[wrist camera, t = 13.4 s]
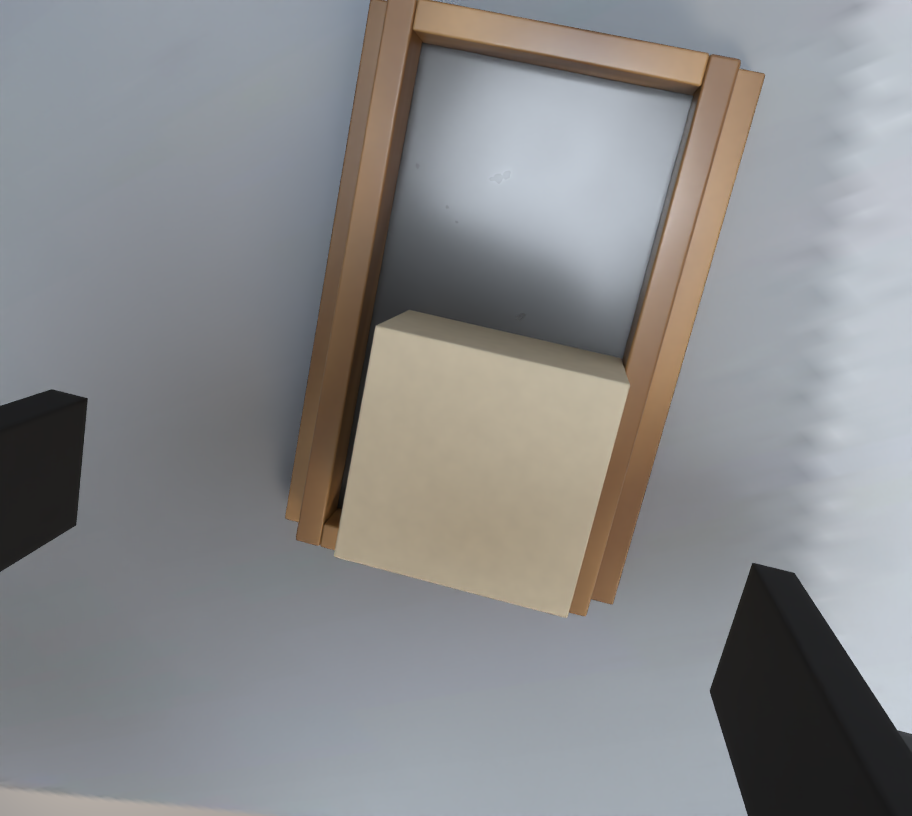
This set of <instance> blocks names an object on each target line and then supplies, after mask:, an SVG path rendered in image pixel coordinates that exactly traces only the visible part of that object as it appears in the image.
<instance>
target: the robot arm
mask: <svg viewBox="0 0 912 816" xmlns="http://www.w3.org/2000/svg"><path fill="white" fill-rule="evenodd" d="M87 400H88V398H84V397H80V396H76V395H72V394H68V393H64V392H60V391H56V390H52V389H51V390H48V391H45V392H42V393H39V394H36V395H33V396H30V397H27V398H23V399H20V400H17V401H14V402H11V403H8V404H5V405H2V406H0V572H1V571H2V570H4V569H6V568H7V567H9V566H11V565H12V564H14V563H15V562H17V561H19V560H20V559H22V558H24V557H25V556H27V555H28V554H30V553H32V552H33V551H35V550H37V549H38V548H40V547H41V546H43V545H45V544H46V543H48V542H50V541H51V540H53V539H54V538H56V537H58V536H59V535H61V534H63V533H64V532H66V531H67V530H69V529H71V528H72V527H74V526H76V522H77V511H78V500H79V488H80V477H81V466H82V455H83V444H84V433H85V422H86V411H87ZM710 694H711V697H712V700H713V703H714V707H715V710H716V713H717V716H718V720H719V723H720V726H721V729H722V733H723V736H724V739H725V742H726V746H727V749H728V752H729V755H730V759H731V762H732V765H733V769H734V772H735V775H736V778H737V782H738V785H739V788H740V791H741V795H742V798H743V801H744V804H745V808H746V811H747V814H748V816H912V734H909V733H905V732H902V731H898V730H897V729H896V728H895V726H894V725H893V723H892V722H891V720H890V719H889V717H888V715H887V714H886V712H885V711H884V709H883V708H882V706H881V705H880V703H879V702H878V700H877V699H876V697H875V696H874V694H873V692H872V691H871V689H870V688H869V686H868V685H867V683H866V682H865V680H864V679H863V677H862V676H861V674H860V673H859V671H858V670H857V668H856V666H855V665H854V663H853V662H852V660H851V659H850V657H849V656H848V654H847V653H846V651H845V650H844V648H843V647H842V645H841V644H840V642H839V640H838V639H837V637H836V636H835V634H834V633H833V631H832V630H831V628H830V627H829V625H828V624H827V622H826V621H825V619H824V617H823V616H822V614H821V613H820V611H819V610H818V608H817V607H816V605H815V604H814V602H813V601H812V599H811V598H810V596H809V595H808V593H807V591H806V590H805V588H804V587H803V585H802V584H801V582H800V581H799V579H798V578H797V576H796V575H795V573H792V572H788V571H784V570H780V569H776V568H772V567H768V566H764V565H760V564H756V563H752V566H751V569H750V572H749V575H748V578H747V581H746V584H745V587H744V590H743V593H742V596H741V599H740V602H739V605H738V608H737V611H736V614H735V617H734V620H733V623H732V626H731V629H730V632H729V635H728V638H727V641H726V644H725V647H724V650H723V653H722V656H721V659H720V662H719V665H718V668H717V671H716V674H715V677H714V680H713V683H712V686H711V689H710Z"/></svg>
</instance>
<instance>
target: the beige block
mask: <svg viewBox="0 0 912 816" xmlns="http://www.w3.org/2000/svg"><path fill="white" fill-rule="evenodd" d="M629 388H630V384H629V381H628V378H627V375H626V372H625V369H624V366H623V363H622V360H621V358H618V357H613V356H609V355H604V354H600V353H596V352H591V351H587V350H583V349H578V348H574V347H569V346H565V345H561V344H556V343H552V342H548V341H543V340H539V339H535V338H530V337H526V336H521V335H517V334H513V333H508V332H504V331H500V330H495V329H491V328H486V327H482V326H478V325H473V324H469V323H465V322H460V321H456V320H451V319H447V318H443V317H438V316H434V315H430V314H425V313H421V312H416V311H412V310H408V311H406V312H404V313H402V314H399V315H397V316H395V317H393V318H391V319H389V320H387V321H385V322H383V323H381V324H379V325H376V327H375V331H374V337H373V342H372V348H371V353H370V359H369V364H368V370H367V375H366V381H365V387H364V392H363V398H362V403H361V409H360V414H359V420H358V425H357V431H356V436H355V442H354V447H353V453H352V458H351V464H350V469H349V475H348V480H347V486H346V491H345V497H344V502H343V508H342V513H341V519H340V524H339V530H338V535H337V541H336V546H335V552H334V557H337V558H340V559H344V560H348V561H352V562H356V563H359V564H363V565H367V566H371V567H374V568H378V569H382V570H386V571H390V572H393V573H397V574H401V575H405V576H409V577H412V578H416V579H420V580H424V581H428V582H431V583H435V584H439V585H443V586H447V587H450V588H454V589H458V590H462V591H466V592H469V593H473V594H477V595H481V596H484V597H488V598H492V599H496V600H500V601H503V602H507V603H511V604H515V605H519V606H522V607H526V608H530V609H534V610H538V611H541V612H545V613H549V614H553V615H557V616H560V617H564V618H567V617H568V614H569V610H570V606H571V602H572V599H573V595H574V591H575V588H576V584H577V580H578V577H579V573H580V569H581V565H582V562H583V558H584V554H585V551H586V547H587V543H588V539H589V536H590V532H591V528H592V525H593V521H594V517H595V514H596V510H597V506H598V502H599V499H600V495H601V491H602V488H603V484H604V480H605V476H606V473H607V469H608V465H609V462H610V458H611V454H612V451H613V447H614V443H615V439H616V436H617V432H618V428H619V425H620V421H621V417H622V413H623V410H624V406H625V402H626V399H627V395H628V391H629Z"/></svg>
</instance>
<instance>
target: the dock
mask: <svg viewBox="0 0 912 816" xmlns="http://www.w3.org/2000/svg"><path fill="white" fill-rule="evenodd" d="M740 65H741V60H739V59H736V58H730V57H725V56H720V55H715V54H712V55H710V56H709V54H708V53H705V52H700V51H694V50H689V49H684V48H679V47H674V46H668V45H663V44H658V43H653V42H647V41H642V40H637V39H632V38H626V37H621V36H616V35H611V34H605V33H600V32H595V31H590V30H584V29H579V28H574V27H569V26H564V25H558V24H553V23H548V22H543V21H537V20H532V19H527V18H522V17H516V16H511V15H506V14H501V13H495V12H490V11H485V10H480V9H474V8H469V7H464V6H459V5H453V4H448V3H443V2H438V1H433V0H387V1H384V0H370V5H369V12H368V18H367V24H366V30H365V36H364V42H363V48H362V54H361V60H360V66H359V72H358V78H357V84H356V90H355V96H354V102H353V109H352V115H351V121H350V127H349V133H348V139H347V145H346V151H345V157H344V163H343V169H342V175H341V181H340V187H339V193H338V199H337V206H336V212H335V218H334V224H333V230H332V236H331V242H330V248H329V254H328V260H327V266H326V272H325V278H324V284H323V290H322V296H321V302H320V309H319V315H318V321H317V327H316V333H315V339H314V345H313V351H312V357H311V363H310V369H309V375H308V381H307V387H306V393H305V399H304V406H303V412H302V418H301V424H300V430H299V436H298V442H297V448H296V454H295V460H294V466H293V472H292V478H291V484H290V490H289V496H288V503H287V509H286V515H285V518H286V519H288V520H292V521H296V522H298V528H297V534H296V540H298V541H302V542H305V543H309V544H313V545H317V546H319V545H321V547H324V548H328V549H332V550H335V546H336V541H337V535H338V530H339V524H340V519H341V513H342V508H343V502H344V497H345V491H346V486H347V480H348V475H349V469H350V464H351V458H352V453H353V447H354V442H355V436H356V431H357V425H358V420H359V414H360V409H361V403H362V398H363V392H364V387H365V381H366V375H367V370H368V364H369V359H370V353H371V348H372V342H373V337H374V331H375V327H376V325H379V324H381V323H383V322H385V321H387V320H389V319H391V318H393V317H395V316H397V315H399V314H402V313H404V312H406V311H408V310H412V311H416V312H421V313H425V314H430V315H434V316H438V317H443V318H447V319H451V320H456V321H460V322H465V323H469V324H473V325H478V326H482V327H486V328H491V329H495V330H500V331H504V332H508V333H513V334H517V335H521V336H526V337H530V338H535V339H539V340H543V341H548V342H552V343H556V344H561V345H565V346H569V347H574V348H578V349H583V350H587V351H591V352H596V353H600V354H604V355H609V356H613V357H618V358H621V360H622V363H623V366H624V369H625V372H626V375H627V378H628V381H629V384H630V388H629V391H628V395H627V399H626V402H625V406H624V410H623V413H622V417H621V421H620V425H619V428H618V432H617V436H616V439H615V443H614V447H613V451H612V454H611V458H610V462H609V465H608V469H607V473H606V476H605V480H604V484H603V488H602V491H601V495H600V499H599V502H598V506H597V510H596V514H595V517H594V521H593V525H592V528H591V532H590V536H589V539H588V543H587V547H586V551H585V554H584V558H583V562H582V565H581V569H580V573H579V577H578V580H577V584H576V588H575V591H574V595H573V599H572V602H571V606H570V610H569V612H570V613H573V614H577V615H581V616H586V615H587V612H588V608H589V604H590V601H591V599H593V600H596V601H600V602H604V603H608V604H613V602H614V599H615V595H616V592H617V588H618V585H619V581H620V578H621V574H622V571H623V567H624V564H625V560H626V557H627V553H628V550H629V547H630V543H631V540H632V536H633V533H634V529H635V526H636V522H637V519H638V515H639V512H640V508H641V505H642V501H643V498H644V494H645V491H646V487H647V484H648V481H649V477H650V474H651V470H652V467H653V463H654V460H655V456H656V453H657V449H658V446H659V442H660V439H661V435H662V432H663V428H664V425H665V422H666V418H667V415H668V411H669V408H670V404H671V401H672V397H673V394H674V390H675V387H676V383H677V380H678V376H679V373H680V369H681V366H682V363H683V359H684V356H685V352H686V349H687V345H688V342H689V338H690V335H691V331H692V328H693V324H694V321H695V317H696V314H697V310H698V307H699V304H700V300H701V297H702V293H703V290H704V286H705V283H706V279H707V276H708V272H709V269H710V265H711V262H712V258H713V255H714V251H715V248H716V245H717V241H718V238H719V234H720V231H721V227H722V224H723V220H724V217H725V213H726V210H727V206H728V203H729V199H730V196H731V192H732V189H733V186H734V182H735V179H736V175H737V172H738V168H739V165H740V161H741V158H742V154H743V151H744V147H745V144H746V140H747V137H748V133H749V130H750V127H751V123H752V120H753V116H754V113H755V109H756V106H757V102H758V99H759V95H760V92H761V88H762V85H763V81H764V78H765V74H764V73H759V72H754V71H749V70H744V69H739V68H740Z"/></svg>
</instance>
